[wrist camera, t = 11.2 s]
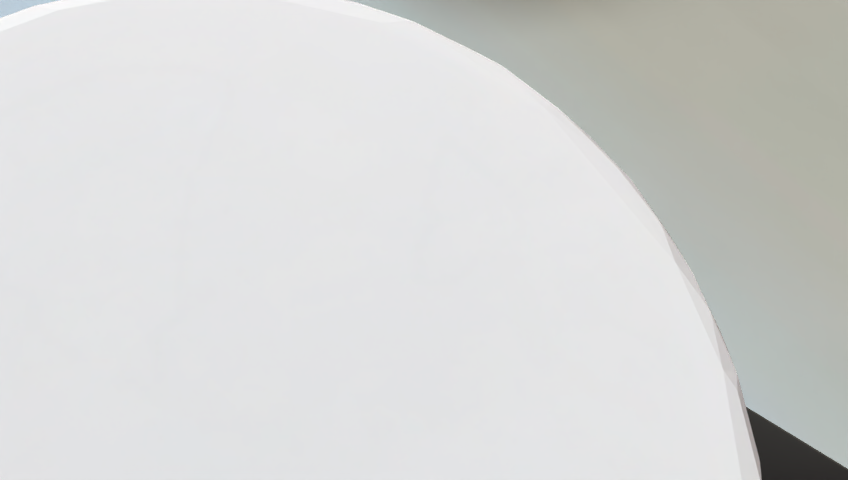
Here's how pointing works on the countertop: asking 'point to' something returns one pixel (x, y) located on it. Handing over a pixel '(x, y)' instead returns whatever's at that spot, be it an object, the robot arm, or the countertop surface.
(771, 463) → the robot arm
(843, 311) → the countertop surface
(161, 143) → the pill bottle
